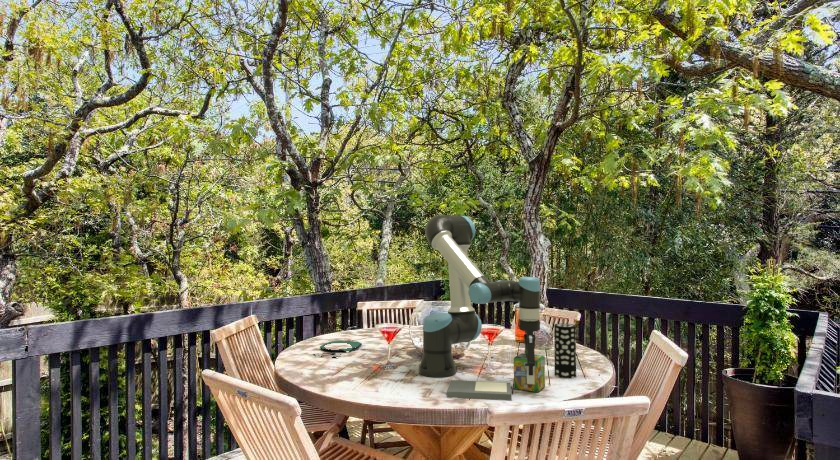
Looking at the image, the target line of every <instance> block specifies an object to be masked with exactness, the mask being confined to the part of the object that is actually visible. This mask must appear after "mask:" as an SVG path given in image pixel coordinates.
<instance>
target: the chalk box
mask: <svg viewBox="0 0 840 460" xmlns="http://www.w3.org/2000/svg"><path fill="white" fill-rule="evenodd" d="M525 352H526V354H525ZM545 361H546V357H545V355H542V354H541V355H540V354H536V353H535V384H527V366H525V363H527V348H525V347H524V352H522V353H520V354H517V355H516V356H514V357H513V380H514V381H513V383H514V384H513V385H514V386H513V389H514V390H521V391H527V392H534V393H539V392H540V391H541V390H542V389H544V388H545V387H546V367H545V365H546V364H545V363H546V362H545ZM529 362H532V361H529Z"/></svg>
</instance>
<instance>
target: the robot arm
mask: <svg viewBox="0 0 840 460" xmlns="http://www.w3.org/2000/svg"><path fill="white" fill-rule="evenodd" d="M424 230H425V231H424V232H425V238H426V240H427V242H428V243H429V245H430V246H431V247H432V248H433V249H434V250H437V251H438V252H439V254H440V255H441V256H442V257H443V258H444V260H446V263H447V266H448V283H449V298H450V307H449V309H448V310H447V312H440V313H432V314H429V315H427V316H425V317H424V318H423V324H422V325H423V326H422V336H423V337H422V342H423V345H422V346H423V347H422V350H423V351H422V352H423V353H422V357H421V360H420V363H419V368H418V372H419V374H420V375H421V374H422V376H424V377H430V378H447V377H451V376H454V375H456V373H457V366H456V363H455V360H454V356H453V351H452V350H453V349H452V346H453V345H457V344H462V343H469V342H471V341H475V340H476V339H477V338H478V337H480V335H481V332H482V324H483V323H482V320H481V318H480V316H479V315H478V314H477V313H476V310H475V308H474V307H473V306H472V303H473V304H477V305H480V304H482V305H485V304H491V303H499V302H509V301H511V302H518V318H519V320H518V321H519V322H518V325H519V327H518V328H519V330H520V331H522V332H524V334H523V340H524V341H523V342H524V343H523V344H524V349H525V348H527V363H525V366H527V384H535V354H536V353H535V348H536V334H534V333H535V332H539V331H540V330H541V321H540V319H541V314H542V310H541V309H540V308H541V306H540V305H541V303H540V301H541V284H540V283H541V282H540V281H541V280H540V279H539V278H538V277H536V276H521V277H519V278H518V281H514V280H508V279H499V280H496V281H490V280H489V279H487V277H486V276H485V275H484V274H483V273H482V271H481V270H480V269H479V267H477V265H476V264H475V263H474V262H473V261H472V260H471V258H470V257H468V250H469V248H470V247H471V242H472V241H473V240H474V237H475V236H476V227H475V224H474V222H473V221H472V220H471V219H470V217H468V216H466V215H460V214H459V215H458V214H456V215H453V214H452V215H450V214H449V215H447V214H445V215H444V214H437V215H435V216H432V217H431V218H430V219H429V220H428V221H427V223H426V225H425V228H424ZM524 353H525V354H526V352H525V351H524ZM529 361H532V362H529Z"/></svg>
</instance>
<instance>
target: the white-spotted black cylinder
mask: <svg viewBox="0 0 840 460" xmlns="http://www.w3.org/2000/svg"><path fill="white" fill-rule="evenodd" d="M553 330H554V332H553V333H554V340H553V341H554V346H553V347H554V349H553V350H554V376H555V377H557V378H560V379H574V377H575V378H576V377H577V325H575V324H573V323H565V322H564V323H555V324H554V326H553Z"/></svg>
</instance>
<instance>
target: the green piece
mask: <svg viewBox="0 0 840 460" xmlns="http://www.w3.org/2000/svg"><path fill="white" fill-rule="evenodd" d="M331 343H347V344H350V345H351V346H352V348H347V349H339V350H331V349H329V350H331V351H330V352H345V351H350V350H351V351H352V350H357V349H359V348H360V347H361V346H362V345H363V344H362V343H361V342H360V341H355V340H354V341H353V340H332V341H328V342H326V343H323V344H322V345H320V346H319V349H320V348H322V349H323V350H324V349H325V350H324V351H327V350H328V349H326V348H325V347H324V346H325V345H327V344H331ZM355 347H356V348H355ZM322 349H321V350H322ZM351 351H350V352H351ZM339 354H340V355H341V354H342V353H339ZM336 357H338V358H339V356H336Z"/></svg>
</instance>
